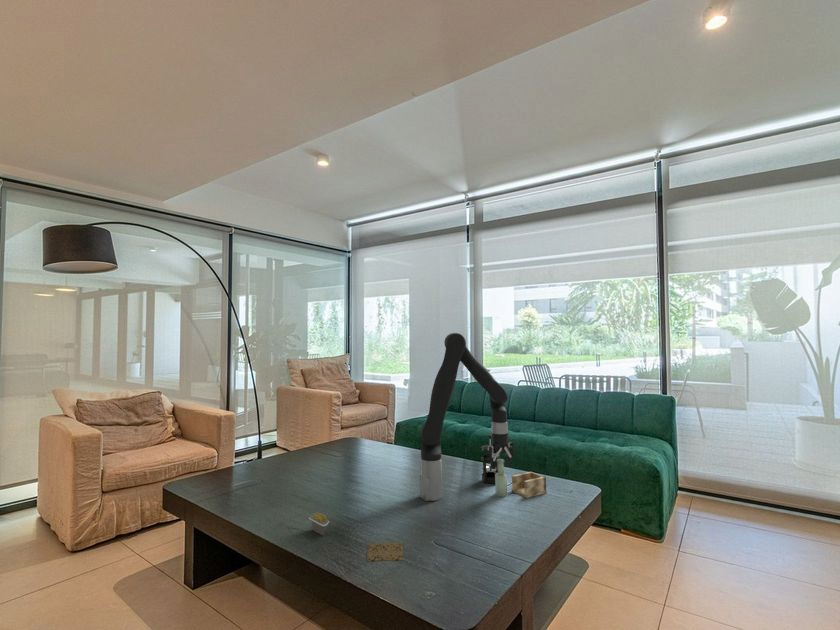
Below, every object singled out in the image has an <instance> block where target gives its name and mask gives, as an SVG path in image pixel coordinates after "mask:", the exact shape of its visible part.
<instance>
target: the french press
mask: <svg viewBox="0 0 840 630" xmlns="http://www.w3.org/2000/svg"><path fill="white" fill-rule="evenodd" d="M485 436H486V437H487V438H488V439H489V444H484V445H482V446H481V447H480V448H481V451H482V452H483V451H487V446H492V445H493V444H491V442H492V433H489V434H485ZM497 459H501V455H498V457H497V458H496V460H495V464H496V469H492V468H491V462H490V460H488V459H487V454H483V455H482V456H481V461H482V468H481V469H482V473H481V482H482V484H485V485H487V486H488V485H489V486H495V474H496V473H498V462H497ZM487 463H490V464H489V465H487Z"/></svg>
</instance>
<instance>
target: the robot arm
mask: <svg viewBox="0 0 840 630" xmlns="http://www.w3.org/2000/svg"><path fill="white" fill-rule="evenodd" d="M466 340H467V339H466V338H465V336H464V335H463V334H461V333H457V332H451V333H449V334H448V335H446V337H445V339H444V347H445V349H444V350H445V351H444V357H443V360H442V363H441V366H440V368H438V369H439V370H438V371H437V374H436V376H435V378H434V383H433V386H432V389H431V395H430V401H429V402H430V403H429V411H428V415H427V416H426V417H427V418H426V420H425V422H424V423H423V424H422V426H421V427H420V466H421V467H420V471H421V474H420V475H419V497H420V498H421V499H422V500H424V501H426V502H428V501H429V502H430V501H433V502H434V501H435V502H436V501H440V500H441V499H442V498H443V479H442V478H443V475H442V474H443V471H442V469H443V468H442V466H443V465H442V464H443V462H442V445H441V444H442V441H441V438H442V434H443V426H444V421H445V417H446V413H447V411H448V409H449V408H448V407H449V406H450V401H451V399H452V397H453V392H454V390H455V389H454V388H455V385H456V379H457V377H458V369H459V365H460V363H461V364H462V365H464V367H465V368H466V369H467V371H468V372H469V373H470V374H471V376H472V377H473V378H474V380H475V381H476V382H477V383H478V384H479V385H480V387H481V388H482V389H484V390H485V391H486V393H488V395H489V404H490V411H491V426H490V427H491V434H492V437H491V442H492V444H491V445H492V446H487V450H486V455H487V458H486V459H488V460H490V462H491V468H492V469H496V464H495V460H496V458H497V457H498V455H499V456H501V455H505V465H506V467H511V464H512V457H514V456H515V454H516V453H515V444H514V443H513V442H512V441H511V442H510V441H509V426H508V413H507V411H508V410H507V409H506V407H505V403H506V402H508V398H509V395H508V392H507V390H506V389H505V388H504V387H503V386H502V385H501V384H500V383H499V382H498V381H497V380H496V379H495V377H494V376H493V375H492V374H491V373H490V371H489V370H488V369H487V368H486V367H485V366H484V365H483V364H482V363H481V362H480V361H479V360H478V359H477V358H476V357H475V356H474V355H473V354H472V353H471V351H470V350H469V348H468V347H467V341H466ZM490 462H489V463H490Z"/></svg>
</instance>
